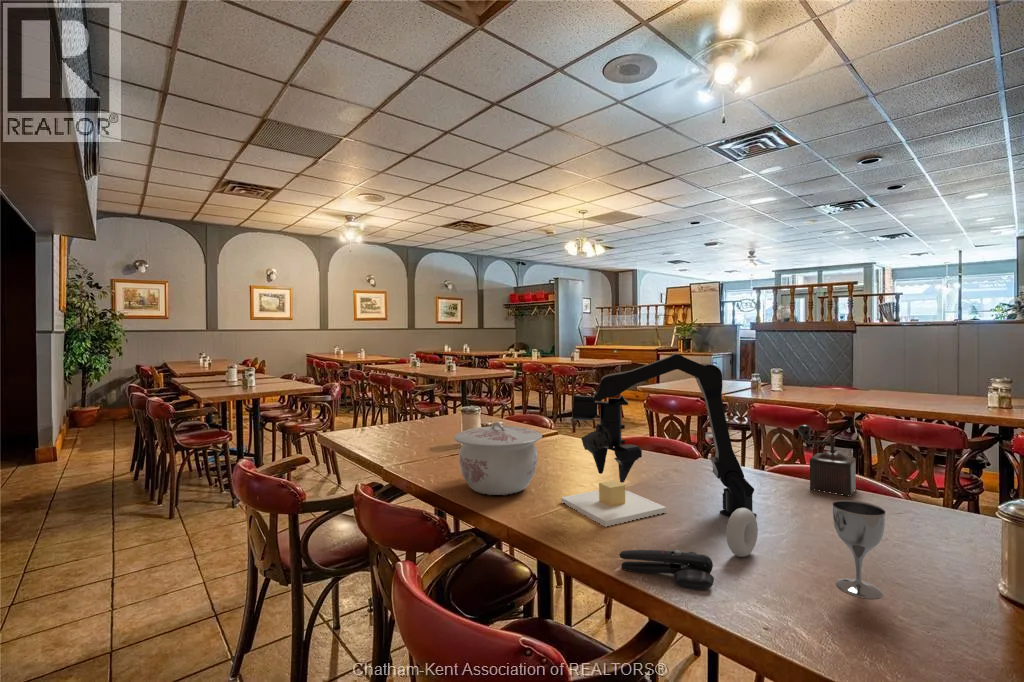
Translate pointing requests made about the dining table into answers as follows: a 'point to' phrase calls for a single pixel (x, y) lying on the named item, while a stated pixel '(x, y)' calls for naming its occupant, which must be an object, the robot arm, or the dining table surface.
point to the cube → (612, 493)
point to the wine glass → (859, 540)
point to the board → (613, 508)
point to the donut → (742, 532)
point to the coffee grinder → (830, 468)
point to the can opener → (673, 566)
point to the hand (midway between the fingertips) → (611, 477)
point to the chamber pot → (498, 458)
